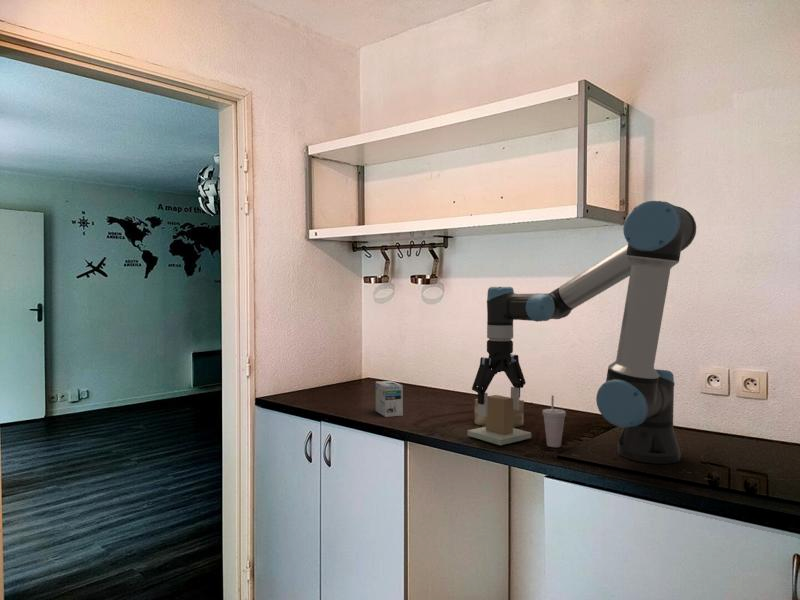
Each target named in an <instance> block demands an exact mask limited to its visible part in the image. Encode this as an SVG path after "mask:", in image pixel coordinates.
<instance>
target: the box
mask: <svg viewBox="0 0 800 600" xmlns="http://www.w3.org/2000/svg"><path fill="white" fill-rule="evenodd" d="M498 395H499V394H498ZM499 396H501V395H499ZM502 396H503V395H502ZM503 397H506V396H503ZM507 397H508V398H511V396H510V397H509V396H507ZM524 402H525V401H524V399H519V410H514V409H513V428H516V427H521V426H524V417H525V416H524V414H525V413H524V410H525V409H524V407H525V406H524ZM474 425H479V426H482V427H486V416H482V415H479V404H478V398H474Z"/></svg>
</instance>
